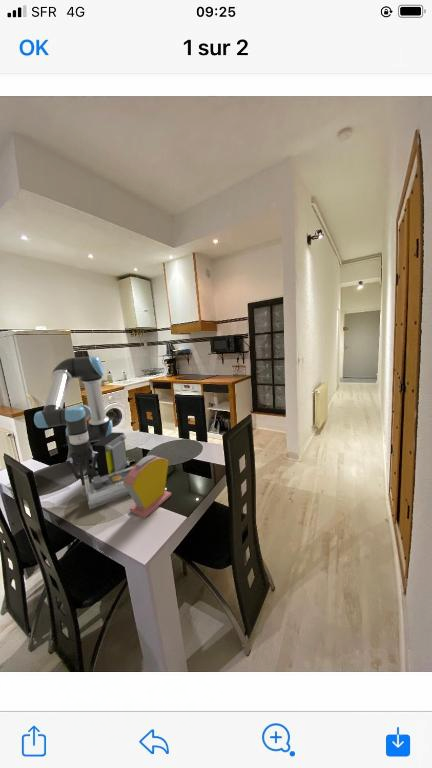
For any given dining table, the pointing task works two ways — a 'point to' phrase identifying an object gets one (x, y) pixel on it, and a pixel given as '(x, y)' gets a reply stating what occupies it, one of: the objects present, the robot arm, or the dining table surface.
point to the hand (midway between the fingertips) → (88, 490)
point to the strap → (114, 480)
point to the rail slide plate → (107, 490)
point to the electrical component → (111, 454)
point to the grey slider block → (99, 481)
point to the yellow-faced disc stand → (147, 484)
